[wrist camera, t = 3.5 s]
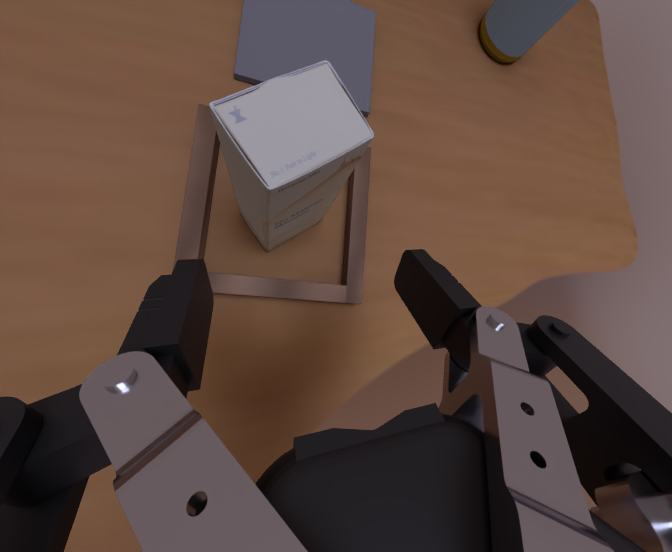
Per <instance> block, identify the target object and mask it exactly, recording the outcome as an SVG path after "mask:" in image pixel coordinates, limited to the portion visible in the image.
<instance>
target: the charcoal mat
mask: <svg viewBox="0 0 672 552" xmlns="http://www.w3.org/2000/svg"><path fill="white" fill-rule="evenodd" d="M375 17H376V12H375V11H373V10H370V9H368V8H365V7H363V6H360V5H358V4H355V3H353V2H351V1H348V0H244V4H243V11H242V19H241V26H240V33H239V40H238V48H237V55H236V62H235V70H234V76H235V79H237V80H240V81H244V82H247V83H251V84H254V85H258V84H260V83H263V82H265V81H268V80H270V79H273V78H275V77H278V76H281V75H284V74H288V73H290V72H293V71H296V70H298V69H302V68H304V67H307V66H310V65H313V64H316V63H318V62H321V61H324V60H326V61H328V62H330V64H331V65H332V67H333V68H334V70H335V71H336V73H337V74H338V76H339V78H340V79H341V81H342V82H343V84H344V86H345V87H346V89H347V90H348V92H349V94H350V95H351V97H352V98H353V100H354V102H355V103H356V105H357V107H358V108H359V110H360V112H361V113H362V115H363V116H366V117H368V115H369V113H370V98H371V81H372V65H373V49H374V33H375Z"/></svg>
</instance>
